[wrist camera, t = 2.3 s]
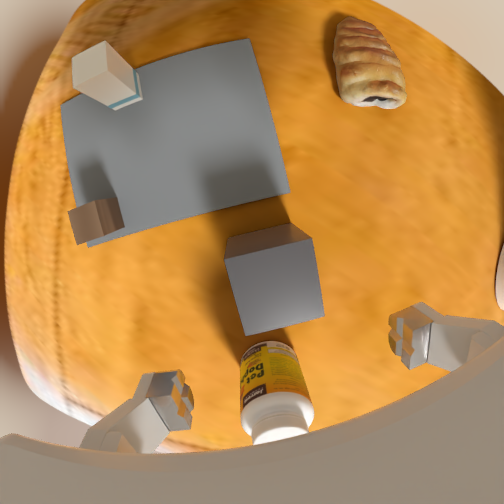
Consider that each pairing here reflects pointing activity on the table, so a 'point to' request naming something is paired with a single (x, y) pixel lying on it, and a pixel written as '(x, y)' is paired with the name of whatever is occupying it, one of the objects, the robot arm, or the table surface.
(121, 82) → the post
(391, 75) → the pastry
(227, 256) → the dark gray block
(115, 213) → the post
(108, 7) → the table surface
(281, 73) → the table surface
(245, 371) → the supplement bottle
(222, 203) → the mat
